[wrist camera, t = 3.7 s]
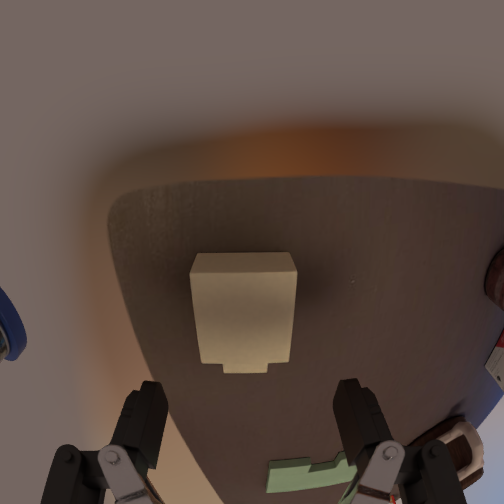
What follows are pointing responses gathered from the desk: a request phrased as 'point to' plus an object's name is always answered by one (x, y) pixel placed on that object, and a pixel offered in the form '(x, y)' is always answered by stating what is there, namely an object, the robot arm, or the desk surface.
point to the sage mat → (307, 474)
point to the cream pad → (244, 308)
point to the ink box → (497, 362)
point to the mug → (459, 448)
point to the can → (496, 280)
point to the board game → (392, 500)
